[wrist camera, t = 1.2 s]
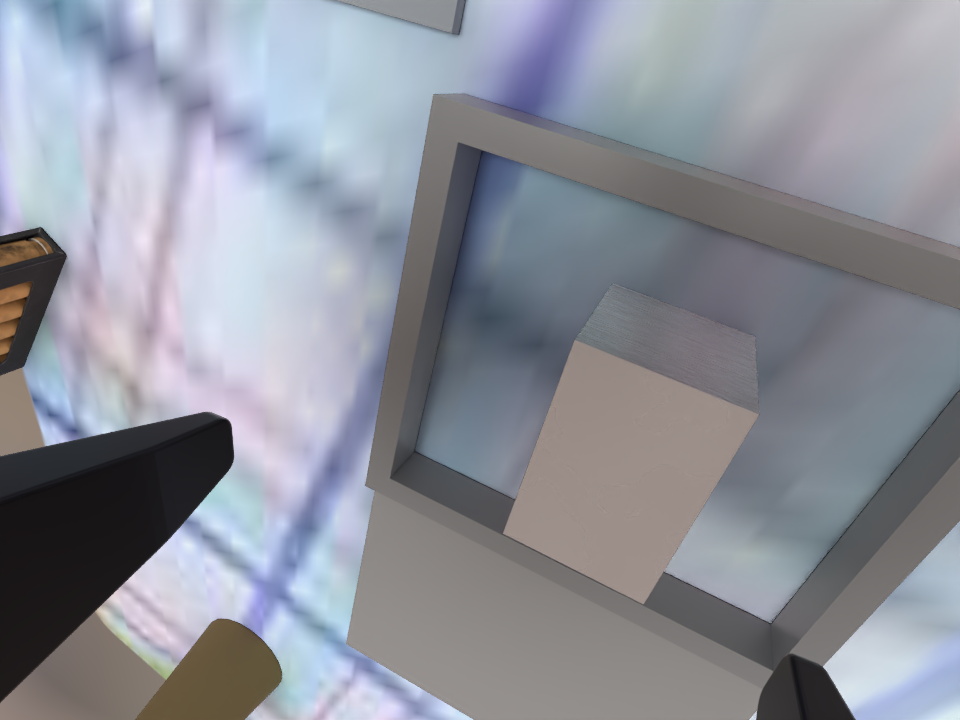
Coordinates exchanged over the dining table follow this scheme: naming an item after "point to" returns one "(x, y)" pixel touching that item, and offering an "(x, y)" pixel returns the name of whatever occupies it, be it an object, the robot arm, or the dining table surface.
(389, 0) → the slate mat
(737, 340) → the block
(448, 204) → the gray rectangular frame
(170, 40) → the dining table surface
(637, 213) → the dining table surface
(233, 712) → the brown tapered mill
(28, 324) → the ammunition clip
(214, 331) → the dining table surface
